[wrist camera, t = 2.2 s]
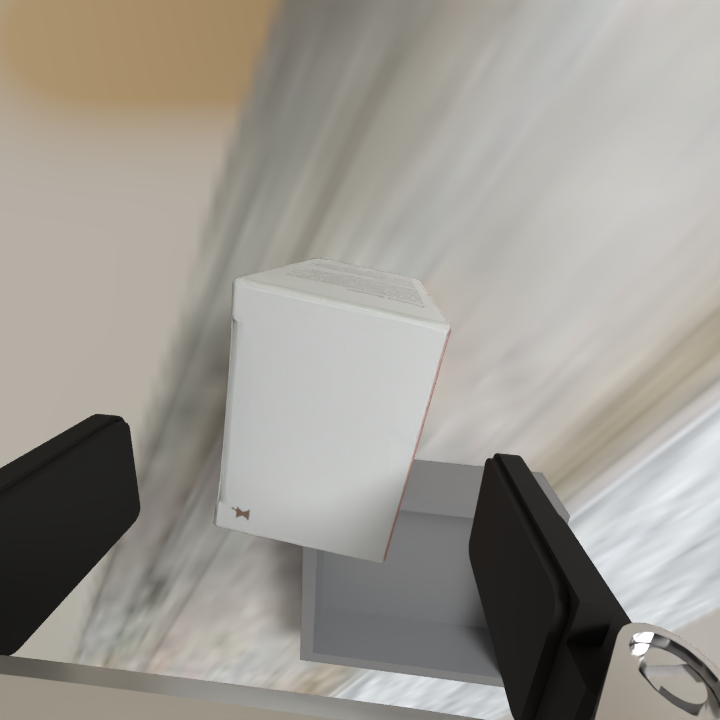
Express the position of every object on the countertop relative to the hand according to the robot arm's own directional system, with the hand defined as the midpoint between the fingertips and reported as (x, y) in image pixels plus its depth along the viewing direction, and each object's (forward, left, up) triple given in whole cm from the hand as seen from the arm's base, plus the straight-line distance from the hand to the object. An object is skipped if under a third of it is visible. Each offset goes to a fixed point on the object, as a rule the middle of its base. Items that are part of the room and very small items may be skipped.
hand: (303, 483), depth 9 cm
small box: (-1, 0, -12) cm, 11 cm away
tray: (+13, +5, -11) cm, 18 cm away
